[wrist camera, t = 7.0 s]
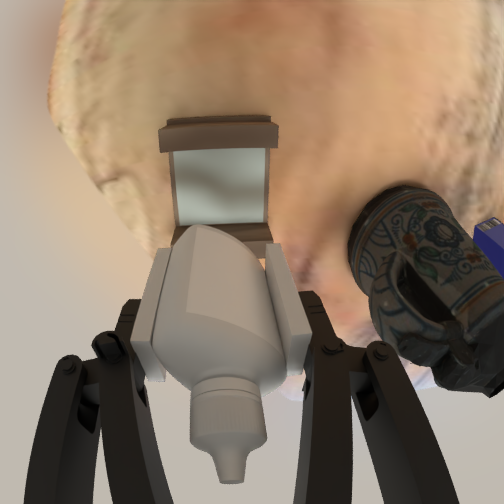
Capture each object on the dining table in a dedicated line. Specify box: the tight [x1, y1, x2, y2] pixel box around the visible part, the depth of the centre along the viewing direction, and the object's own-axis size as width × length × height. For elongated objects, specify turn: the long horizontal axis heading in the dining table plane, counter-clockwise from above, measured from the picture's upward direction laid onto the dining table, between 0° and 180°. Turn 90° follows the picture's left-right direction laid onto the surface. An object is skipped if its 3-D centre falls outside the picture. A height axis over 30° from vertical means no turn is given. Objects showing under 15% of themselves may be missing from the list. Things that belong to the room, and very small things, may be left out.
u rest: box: [158, 116, 279, 259], centre depth 27 cm, size 14×10×5 cm
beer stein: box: [348, 185, 504, 398], centre depth 24 cm, size 16×19×25 cm
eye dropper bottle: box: [152, 224, 287, 484], centre depth 11 cm, size 4×6×12 cm
